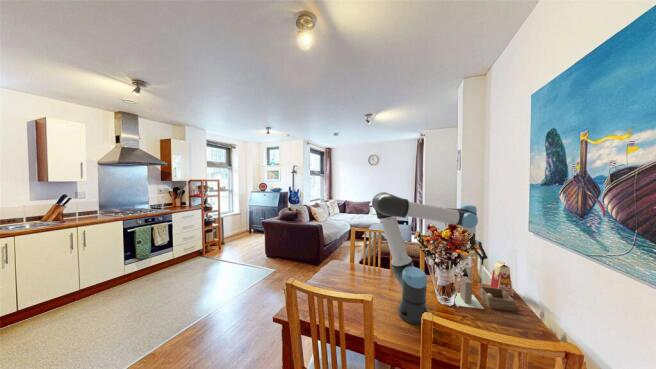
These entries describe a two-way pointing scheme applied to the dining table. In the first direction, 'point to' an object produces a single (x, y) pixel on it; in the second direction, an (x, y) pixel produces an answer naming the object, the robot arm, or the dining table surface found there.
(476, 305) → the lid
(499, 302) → the walnut box
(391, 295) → the dining table surface
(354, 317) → the dining table surface
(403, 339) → the dining table surface
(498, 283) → the milk carton
